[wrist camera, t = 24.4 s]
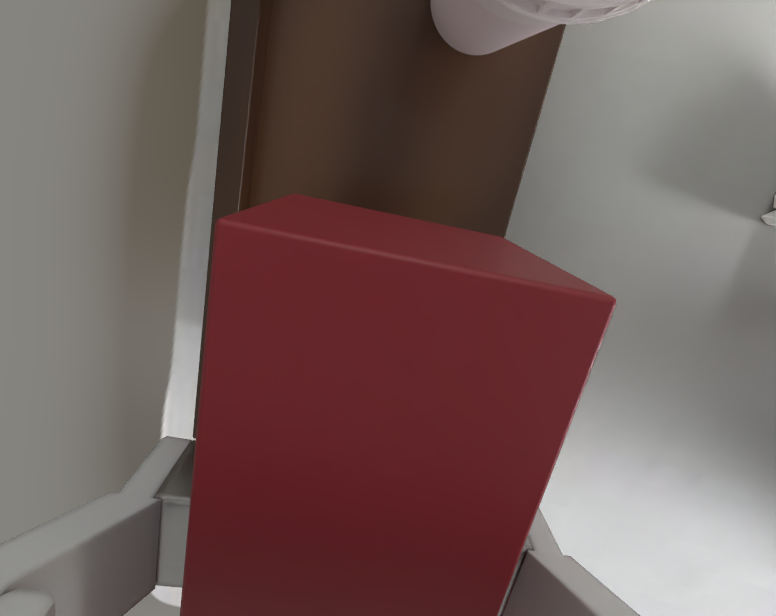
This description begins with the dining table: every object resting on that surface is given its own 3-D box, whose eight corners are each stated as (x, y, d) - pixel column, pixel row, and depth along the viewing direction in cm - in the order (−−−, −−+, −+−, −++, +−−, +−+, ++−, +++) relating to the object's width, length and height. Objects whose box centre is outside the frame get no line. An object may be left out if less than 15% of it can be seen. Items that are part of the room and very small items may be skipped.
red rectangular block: (503, 236, 9) (621, 298, 5) (392, 620, 12) (404, 863, 8) (291, 192, 9) (212, 216, 4) (234, 602, 12) (157, 847, 8)
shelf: (532, -64, 24) (664, -256, 13) (420, 372, 32) (445, 478, 21) (316, -124, 23) (264, -390, 12) (256, 342, 31) (192, 438, 20)
